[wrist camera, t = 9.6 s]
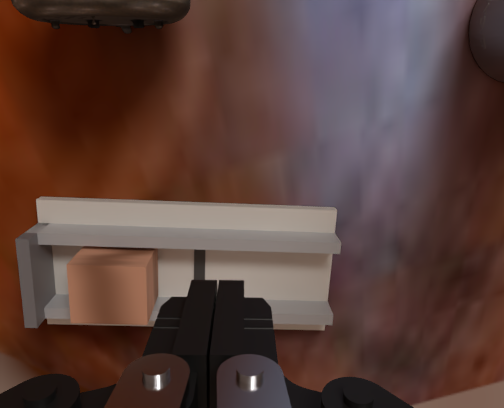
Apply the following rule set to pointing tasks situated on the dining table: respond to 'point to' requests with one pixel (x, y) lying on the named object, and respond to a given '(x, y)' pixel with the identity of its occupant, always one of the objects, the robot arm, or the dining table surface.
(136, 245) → the chute
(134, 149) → the dining table surface
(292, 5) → the dining table surface
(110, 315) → the block
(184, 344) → the robot arm
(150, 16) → the alarm clock
